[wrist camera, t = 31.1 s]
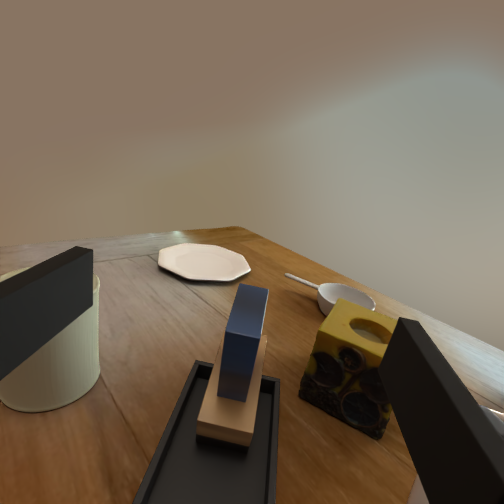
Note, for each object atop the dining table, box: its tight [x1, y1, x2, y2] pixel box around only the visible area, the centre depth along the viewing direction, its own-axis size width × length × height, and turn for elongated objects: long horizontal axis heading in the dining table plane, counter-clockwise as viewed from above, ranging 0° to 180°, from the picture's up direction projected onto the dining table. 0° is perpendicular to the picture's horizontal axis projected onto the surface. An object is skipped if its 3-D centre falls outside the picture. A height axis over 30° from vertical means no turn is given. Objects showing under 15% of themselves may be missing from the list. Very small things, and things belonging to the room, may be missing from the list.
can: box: [0, 267, 100, 412], centre depth 31 cm, size 9×9×12 cm
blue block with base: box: [195, 283, 269, 454], centre depth 30 cm, size 11×5×13 cm, turn 173°
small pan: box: [285, 273, 376, 316], centre depth 60 cm, size 11×18×4 cm, turn 64°
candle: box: [299, 298, 398, 440], centre depth 37 cm, size 10×10×10 cm
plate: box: [158, 243, 251, 282], centre depth 68 cm, size 20×20×2 cm
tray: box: [132, 360, 280, 504], centre depth 29 cm, size 16×10×3 cm, turn 173°
